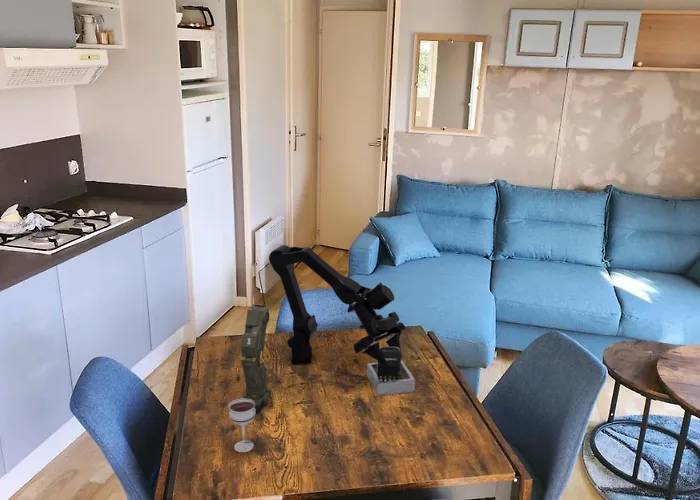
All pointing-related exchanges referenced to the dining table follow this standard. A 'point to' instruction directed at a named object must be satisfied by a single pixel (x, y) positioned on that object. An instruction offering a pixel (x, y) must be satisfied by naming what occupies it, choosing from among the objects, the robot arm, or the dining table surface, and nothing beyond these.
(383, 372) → the battery charger
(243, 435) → the wineglass
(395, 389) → the hollow square metal frame
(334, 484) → the dining table surface
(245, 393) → the mechanical leg
